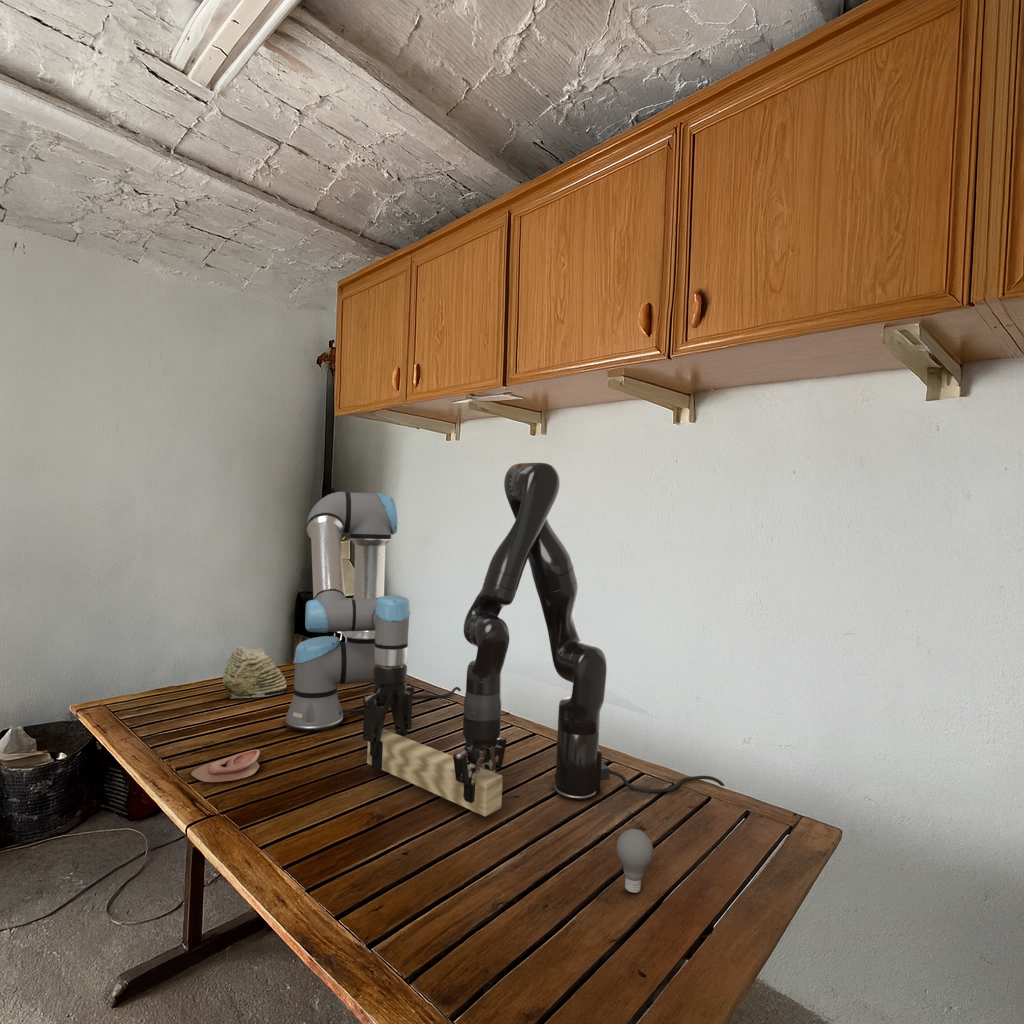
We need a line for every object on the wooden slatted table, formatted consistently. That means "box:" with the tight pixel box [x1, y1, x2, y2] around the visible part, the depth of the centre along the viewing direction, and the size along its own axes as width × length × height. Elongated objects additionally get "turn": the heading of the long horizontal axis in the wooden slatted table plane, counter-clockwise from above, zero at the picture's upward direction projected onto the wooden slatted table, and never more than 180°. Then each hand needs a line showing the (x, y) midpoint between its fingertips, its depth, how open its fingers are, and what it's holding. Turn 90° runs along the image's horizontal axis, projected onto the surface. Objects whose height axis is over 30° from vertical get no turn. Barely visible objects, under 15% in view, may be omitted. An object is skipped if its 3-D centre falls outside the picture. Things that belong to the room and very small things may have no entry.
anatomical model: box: [190, 748, 261, 783], centre depth 143 cm, size 13×4×12 cm
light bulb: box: [615, 828, 654, 894], centre depth 106 cm, size 6×6×10 cm
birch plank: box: [366, 729, 504, 817], centre depth 136 cm, size 36×5×6 cm, turn 52°
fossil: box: [222, 646, 288, 699], centre depth 198 cm, size 9×18×15 cm, turn 132°
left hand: (386, 765), depth 145 cm, fingers closed on birch plank, 5 cm apart
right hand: (478, 796), depth 128 cm, fingers closed on birch plank, 5 cm apart
